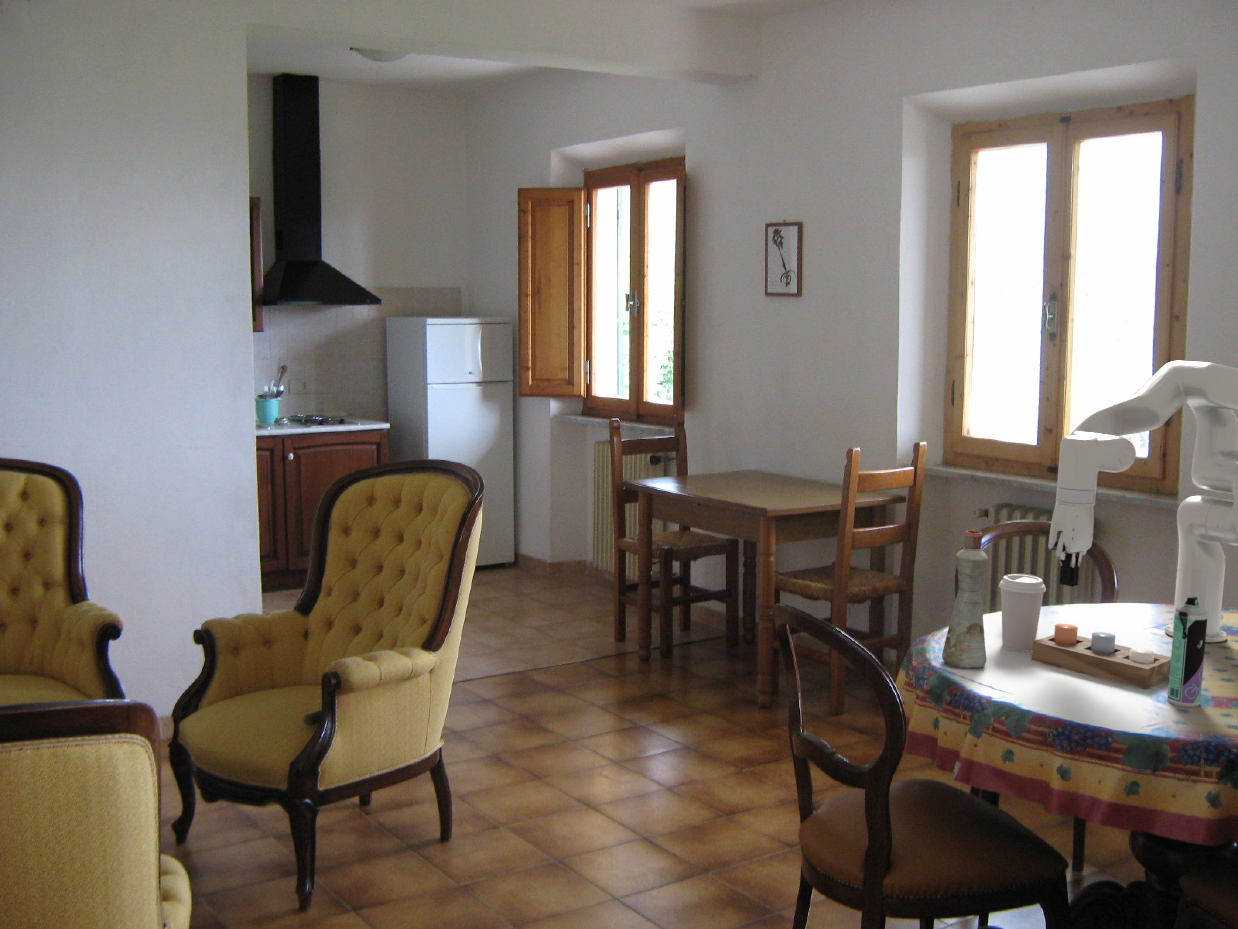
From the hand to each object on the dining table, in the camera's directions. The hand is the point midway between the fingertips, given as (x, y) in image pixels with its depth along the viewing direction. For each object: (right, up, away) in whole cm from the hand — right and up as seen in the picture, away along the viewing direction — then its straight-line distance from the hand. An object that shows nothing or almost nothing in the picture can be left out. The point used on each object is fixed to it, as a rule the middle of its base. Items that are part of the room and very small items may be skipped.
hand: (1068, 584), depth 249 cm
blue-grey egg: (+5, -14, -4) cm, 16 cm away
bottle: (-22, -16, -3) cm, 28 cm away
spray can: (+13, -20, -24) cm, 33 cm away
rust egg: (0, -14, +2) cm, 14 cm away
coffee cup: (-7, -15, +11) cm, 19 cm away
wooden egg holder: (+5, -17, -4) cm, 18 cm away
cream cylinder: (+11, -17, -10) cm, 22 cm away
